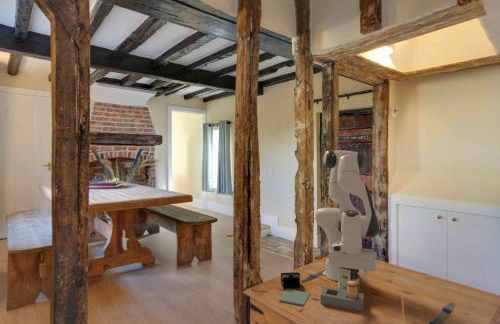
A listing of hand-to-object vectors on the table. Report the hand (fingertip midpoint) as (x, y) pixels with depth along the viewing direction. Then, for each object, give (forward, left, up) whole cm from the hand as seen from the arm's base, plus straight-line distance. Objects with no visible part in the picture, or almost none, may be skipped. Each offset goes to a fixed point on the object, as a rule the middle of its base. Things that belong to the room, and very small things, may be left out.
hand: (352, 277), depth 130 cm
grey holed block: (-1, -5, -14) cm, 14 cm away
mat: (+1, -27, -14) cm, 30 cm away
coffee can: (-16, -4, -14) cm, 21 cm away
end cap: (-11, -33, -14) cm, 37 cm away
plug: (-1, 0, -13) cm, 13 cm away
